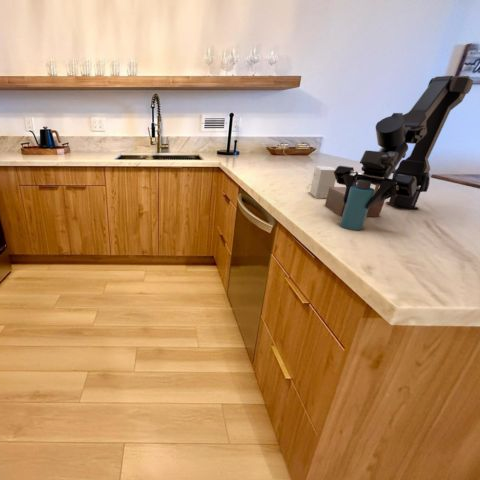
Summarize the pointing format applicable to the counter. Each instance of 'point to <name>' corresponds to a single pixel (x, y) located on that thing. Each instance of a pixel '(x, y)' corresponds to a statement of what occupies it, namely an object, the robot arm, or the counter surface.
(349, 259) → the counter surface
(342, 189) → the chest lid
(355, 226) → the detergent bottle
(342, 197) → the chest
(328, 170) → the small box
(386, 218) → the counter surface
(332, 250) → the counter surface
